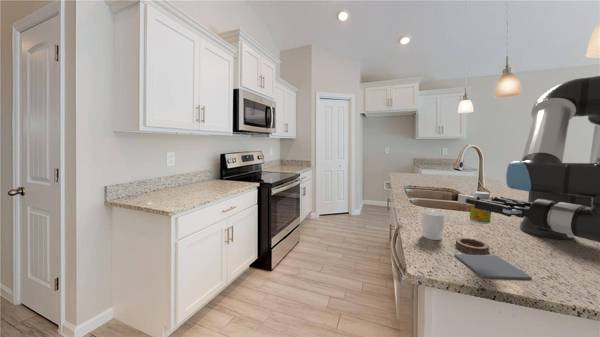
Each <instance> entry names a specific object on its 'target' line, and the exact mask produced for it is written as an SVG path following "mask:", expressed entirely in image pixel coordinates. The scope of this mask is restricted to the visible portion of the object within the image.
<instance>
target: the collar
mask: <svg viewBox="0 0 600 337" xmlns="http://www.w3.org/2000/svg"><path fill="white" fill-rule="evenodd" d="M455 247H456V248H457V249H459V250H461V251H464V252H465V253H469V254H473V255H488V254H489V252H490V246H489V244H488V243H486V242H484V241H483V240H481V239H480V240H479V239H476V238H471V237H458V238H456V239H455Z"/></svg>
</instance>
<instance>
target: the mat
mask: <svg viewBox="0 0 600 337" xmlns="http://www.w3.org/2000/svg"><path fill="white" fill-rule="evenodd" d="M454 257H455V258H457V259H458V261H460V262H461V263H463V264H464V265H465V266H467V267H468V268H470V270H472V272H474V273H475V274H477V275H478V276H479V277H480V278H482V279H505V280H507V279H510V280H511V279H512V280H532V279H533V277H532V276H531V275H529V274H527V273H526V272H525V271H523V270H520V269H519V268H517V267H516V266H514V265H513V264H511V263H509V262H508V261H506V260H505V259H503V258H501V257H499V256H498V255H496V254H460V253H459V254H456V253H455V254H454Z"/></svg>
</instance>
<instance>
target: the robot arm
mask: <svg viewBox="0 0 600 337" xmlns="http://www.w3.org/2000/svg"><path fill="white" fill-rule="evenodd" d="M530 114H531V119H532V124H531V126H530V130H529V134H528V137H527V140H526V143H525V147H524V150H523V153H522V154H523V155H522V157H521V160H515V161H514V160H512V161H511V162H509V163H508V165H507V168H506V173H505V182H506V185H507V187H508V188H509V189H512V190H517V191H524V192H528V200H527V201H526V200H525V201H524V200H520V199H516V198H510V197H505V196H500V197H498V196H491V195H490V197H489V198H488V199H489V200H491V201H489V200H483V199H480V197H475V196H474V192H471V193H470V195H467V194H461V193H459V194H458V195H457V196H458V197H457V203H459V204H460V203H461V204H465V205H469V206H471V205H473V206H474V208H476V209H481V210H486V211H490V212H491V213H495V214H499V215H502V216H505V217H508V218H510V217H512V216H515V217H516V218H523V219H522V221H521V222H520V225H519V229H520V230H521V231H522V232H524V233H527V234H530V235H534V236H537V237H541V238H546V239H554V240H571V239H573V237H577V238H580V239H584V240H588V241H593V242H597V243H600V75H595V76H590V77H580V78H575V79H571V80H568V81H565V82H563V83H560V84H558V85H556V86H554V87H552V88H550V89H549V90H548V91H547V92H545V93H544V94H542V95H541V96H540V97H539V98H538V99H537V100H536V102H535V103H534V104H533V106H532V110H531V113H530ZM575 117H587V120H588V122H589V123H591V124H593V125H594V128H593V135H592V142H591V148H590V157H589V162H587V163H586V162H585V163H584V162H582V163H581V162H563V161H564V156H565V148H566V142H567V137H568V136H567V135H568V129H569V125H570V120H571V119H573V118H575Z"/></svg>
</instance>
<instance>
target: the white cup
mask: <svg viewBox="0 0 600 337" xmlns="http://www.w3.org/2000/svg"><path fill="white" fill-rule="evenodd" d="M445 216H446V214H445V213H444V212H443V211H440V210H439V211H438V210H434V209H425V210H422V211H421V229H422V232H421V233H422V234H421V235H422V237H423V238H425V239H427V240H430V241H431V240H432V241H439V240H441V239H442V237H443V230H444V224H445V223H444V222H445Z"/></svg>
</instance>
